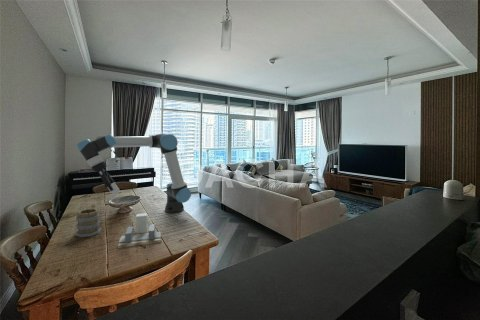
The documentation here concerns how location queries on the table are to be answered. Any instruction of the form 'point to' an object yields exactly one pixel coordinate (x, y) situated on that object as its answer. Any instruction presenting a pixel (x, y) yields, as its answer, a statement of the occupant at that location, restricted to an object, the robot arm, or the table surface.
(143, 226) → the block
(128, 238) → the mounted modules
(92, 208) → the tankard
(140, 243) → the mounting board
